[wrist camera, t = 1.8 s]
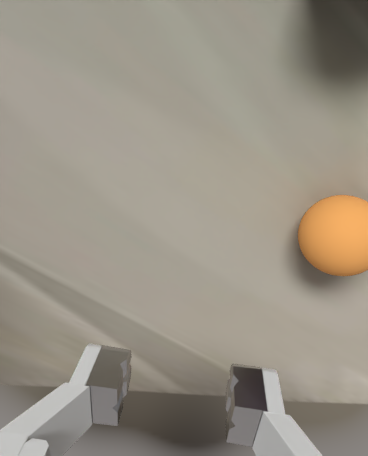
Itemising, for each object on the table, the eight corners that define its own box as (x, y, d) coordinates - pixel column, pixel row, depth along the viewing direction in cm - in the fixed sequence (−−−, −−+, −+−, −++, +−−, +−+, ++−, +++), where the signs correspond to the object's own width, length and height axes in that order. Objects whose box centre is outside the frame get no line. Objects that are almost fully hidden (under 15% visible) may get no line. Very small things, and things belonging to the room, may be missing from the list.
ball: (284, 245, 26) (298, 287, 21) (301, 179, 23) (322, 210, 19) (354, 254, 26) (384, 298, 21) (378, 188, 23) (420, 221, 18)
